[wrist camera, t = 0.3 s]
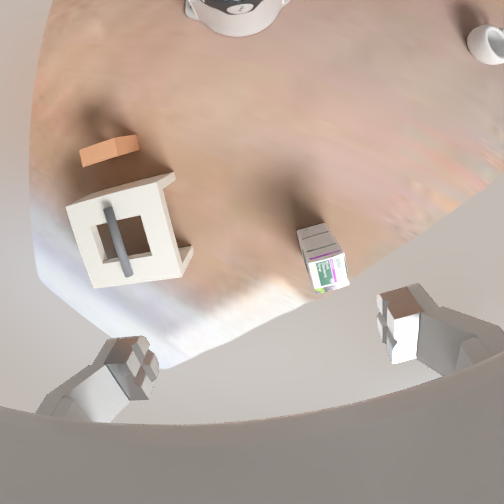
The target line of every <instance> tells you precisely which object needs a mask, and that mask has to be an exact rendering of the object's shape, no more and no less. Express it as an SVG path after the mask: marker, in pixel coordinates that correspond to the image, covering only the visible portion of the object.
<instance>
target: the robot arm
mask: <svg viewBox="0 0 504 504" xmlns="http://www.w3.org/2000/svg"><path fill="white" fill-rule="evenodd" d="M290 1H291V0H186V6H185V13H186V16H187V17H188V18H190V19H193V20H197V21H201V22H202V23H204V24H205V25H206V26H207V27H209V28H210V29H211V30H213V31H215V32H217V33H219V34H222V35H227V36H236V37H237V36H247V35H251V34H255V33H257V32H259V31H261V30H263V29H265V28H266V27H268V26H269V25H270V24H271V23H272V22H273V21H274V20H275V18H276V17H277V15H278V13H279V11H280V9H281V8H282V7H283V6H285V5H286V4H288V3H289V2H290ZM190 7H192V8H190ZM377 307H378V309H379V310H380V312H379V314H378V315H377V325H378V331H379V335H380V337H381V340H382V342H383V343H385V344H387V348H386V349H387V350H386V351H387V353H388V355H389V357H390V360H391V361H392V364H394V363H398V362H402V361H405V360H410V359H413V358H416V359H417V360H419V361H420V362H422V363H423V364H425V365H427V366H428V367H430V368H431V369H433V370H434V371H436V372H437V373H439V374H440V375H442V376H443V377H440V378H437V379H434V380H431V381H428V382H425V383H423V384H420V385H416V386H413V387H410V388H407V389H404V390H400V391H397V392H394V393H390V394H387V395H383V396H379V397H376V398H372V399H368V400H364V401H360V402H355V403H352V404H347V405H342V406H337V407H332V408H327V409H322V410H317V411H312V412H306V413H300V414H294V415H287V416H280V417H273V418H265V419H256V420H247V421H237V422H224V423H209V424H184V425H145V424H119V423H110V422H111V421H112V420H113V419H114V418H115V417H116V415H117V414H118V413H119V412H120V411H121V410H122V409H123V408H124V407H125V406H126V405H127V404H128V403H129V400H149V399H150V396H151V393H152V390H153V387H154V386H153V384H152V382H153V381H154V380H155V379H156V378H157V376H158V373H159V363H158V360H157V358H156V356H155V354H154V353H153V352H151V351H150V350H149V346H150V344H149V342H148V341H147V339H146V337H144V336H133V337H121V338H111V339H108V340H107V341H106V342H105V344H104V346H103V347H102V349H101V351H100V352H99V354H98V356H97V357H96V359H95V360H94V362H93V364H92V365H88V366H87V367H86V368H84V369H83V370H81V371H80V372H78V373H77V374H76V375H74V376H73V377H71V378H70V379H69V380H67V381H66V382H65V383H63V384H61V385H60V386H59V387H57V388H56V389H54V390H53V391H52V392H50V393H49V394H47V395H46V397H45V398H44V400H43V402H42V403H41V405H40V406H39V408H38V410H37V411H36V413H29V412H24V411H19V410H15V409H10V408H5V407H1V406H0V504H504V331H503V330H502V329H501V328H500V327H499V326H497V325H494V324H491V323H489V322H486V321H483V320H480V319H477V318H475V317H472V316H469V315H466V314H463V313H460V312H457V311H454V310H452V309H449V308H446V307H438V305H437V304H436V303H435V302H434V301H433V299H432V298H431V297H430V296H429V294H428V293H427V292H426V291H425V290H424V288H423V287H422V286H421V285H420V284H419V283H416V284H412V285H409V286H406V287H403V288H399V289H396V290H392V291H388V292H385V293H381V294H377Z"/></svg>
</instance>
